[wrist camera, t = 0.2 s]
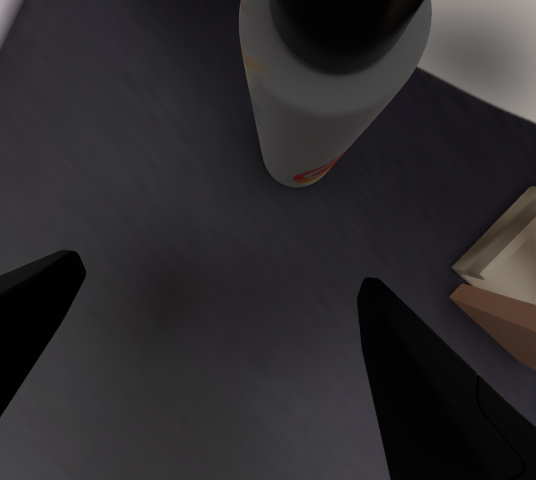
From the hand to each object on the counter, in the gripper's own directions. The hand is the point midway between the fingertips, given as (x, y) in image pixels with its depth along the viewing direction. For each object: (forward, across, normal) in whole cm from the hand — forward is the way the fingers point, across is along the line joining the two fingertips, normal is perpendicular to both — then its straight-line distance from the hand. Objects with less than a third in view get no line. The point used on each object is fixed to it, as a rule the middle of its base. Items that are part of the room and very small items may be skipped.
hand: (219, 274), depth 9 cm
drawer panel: (+10, -20, +12) cm, 25 cm away
